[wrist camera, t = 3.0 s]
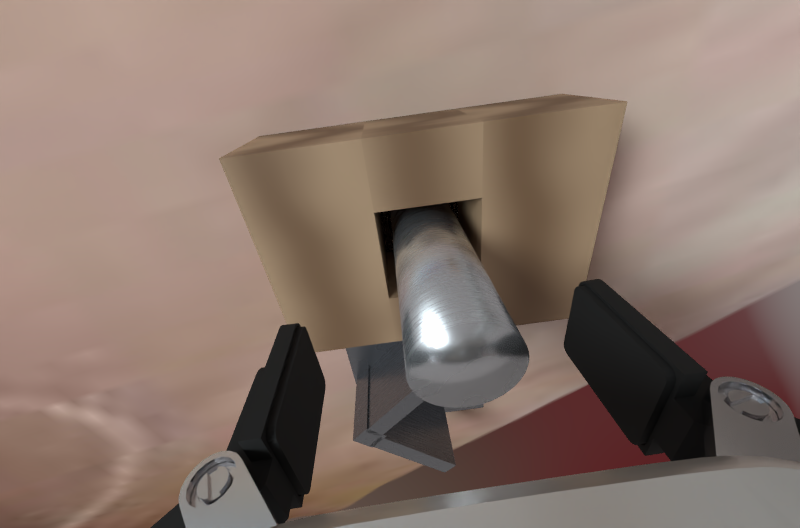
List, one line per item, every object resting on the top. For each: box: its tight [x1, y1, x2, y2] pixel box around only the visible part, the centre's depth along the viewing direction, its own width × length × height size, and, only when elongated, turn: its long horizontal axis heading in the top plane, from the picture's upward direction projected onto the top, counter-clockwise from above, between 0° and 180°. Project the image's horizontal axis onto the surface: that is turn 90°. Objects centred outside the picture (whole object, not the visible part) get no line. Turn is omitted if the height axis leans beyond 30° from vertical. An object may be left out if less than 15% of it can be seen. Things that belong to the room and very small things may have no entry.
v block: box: [346, 341, 483, 472], centre depth 24 cm, size 12×10×6 cm
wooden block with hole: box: [219, 94, 627, 352], centre depth 17 cm, size 16×11×5 cm
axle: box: [390, 203, 529, 408], centre depth 14 cm, size 4×4×12 cm
